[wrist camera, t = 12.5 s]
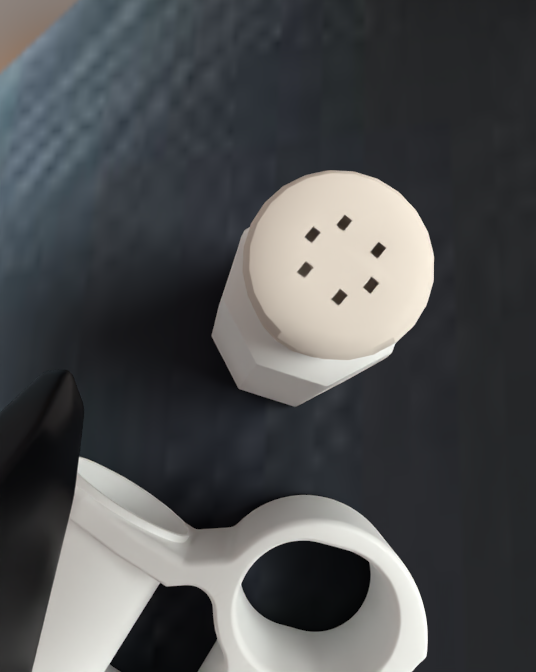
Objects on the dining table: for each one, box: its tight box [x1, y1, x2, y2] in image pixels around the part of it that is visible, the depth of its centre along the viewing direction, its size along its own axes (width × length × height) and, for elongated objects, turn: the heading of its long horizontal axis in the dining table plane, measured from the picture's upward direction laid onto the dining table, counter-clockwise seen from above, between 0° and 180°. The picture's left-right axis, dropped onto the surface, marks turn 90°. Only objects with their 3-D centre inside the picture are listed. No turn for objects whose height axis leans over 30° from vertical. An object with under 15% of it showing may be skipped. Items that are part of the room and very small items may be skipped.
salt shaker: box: [212, 170, 434, 407], centre depth 13 cm, size 5×5×11 cm
